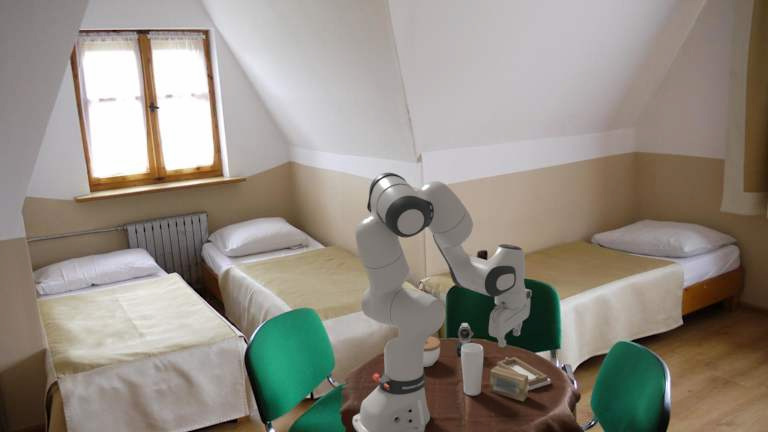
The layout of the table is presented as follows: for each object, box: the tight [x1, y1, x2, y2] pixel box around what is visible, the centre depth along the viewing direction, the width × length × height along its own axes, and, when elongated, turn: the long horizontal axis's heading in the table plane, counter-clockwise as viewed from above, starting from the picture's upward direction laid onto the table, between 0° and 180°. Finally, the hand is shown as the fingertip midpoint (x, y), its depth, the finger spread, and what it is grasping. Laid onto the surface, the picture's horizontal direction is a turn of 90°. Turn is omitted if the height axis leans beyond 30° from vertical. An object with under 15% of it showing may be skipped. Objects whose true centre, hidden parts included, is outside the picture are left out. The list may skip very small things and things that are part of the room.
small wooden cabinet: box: [496, 356, 552, 391], centre depth 198 cm, size 10×16×4 cm, turn 27°
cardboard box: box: [489, 366, 529, 402], centre depth 187 cm, size 4×11×7 cm, turn 52°
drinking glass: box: [460, 342, 484, 397], centre depth 188 cm, size 7×7×15 cm
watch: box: [456, 322, 474, 357], centre depth 216 cm, size 6×8×11 cm
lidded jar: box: [423, 335, 441, 368], centre depth 210 cm, size 11×11×9 cm
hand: (509, 340), depth 184 cm, fingers open, 8 cm apart
